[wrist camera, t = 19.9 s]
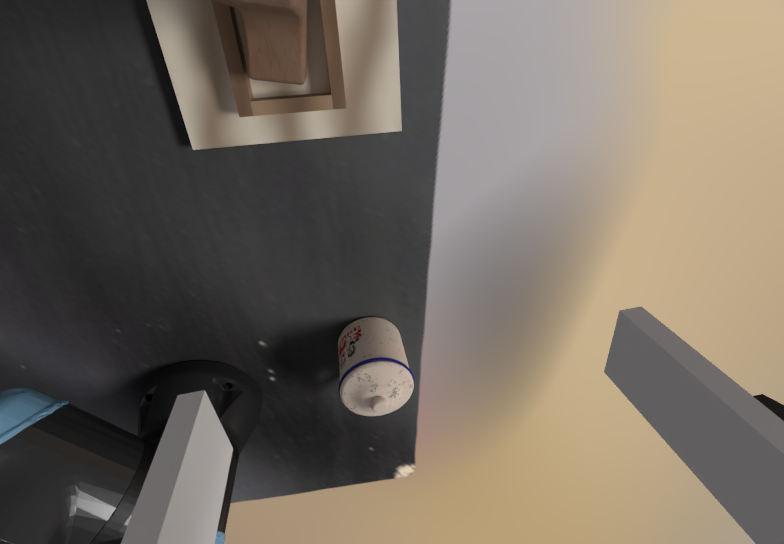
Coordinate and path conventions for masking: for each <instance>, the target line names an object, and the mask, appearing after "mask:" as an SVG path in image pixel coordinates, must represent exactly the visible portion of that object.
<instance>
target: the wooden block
mask: <svg viewBox="0 0 784 544" xmlns="http://www.w3.org/2000/svg"><path fill="white" fill-rule="evenodd" d="M214 1H217V2H220V3H223V4H226V5H229V6H232V7H234V8H236V9H237V11H238V13H239V15H240V20H241V25H242V30H243V35H244V44H245V56H246V68H247V75H248V77H249V78H251V79H253V80H261V81H269V82H278V83H287V84H296V85H302V84H304V82H305V80H306V77H307V0H214Z"/></svg>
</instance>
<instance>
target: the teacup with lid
mask: <svg viewBox="0 0 784 544" xmlns="http://www.w3.org/2000/svg"><path fill="white" fill-rule="evenodd" d="M338 356H339V372H340V383H339V396H340V398H341V400H342V402H343V403H344V405H345V406H346V407H347V408H348V409H350V410H351V411H353V412H355V413H356V414H360V415H364V416H380V415H384V414H388V413H391V412H393V411H395V410H397V409H398V408H400V407H401V406H402V405H404V404H405V403H406V402H407V400H408V399H409V398H410V396H411V394H412V392H413V387H414V377H413V374H412V372H411V370H410V369H409V366H408V362H407V359H406V355H405V351H404V348H403V344H402V340H401V337H400V333H399V331H398V329H397V328H396V327H395V325H393V324H392V323H391V322H389V321H388V320H385V319H382V318H377V317H367V318H362V319H359V320H356V321H354V322H352V323H351V324H349V325H348V326H347V327H346V328H345V329H344V330H343V331H342V333H341V335H340V337H339V340H338Z"/></svg>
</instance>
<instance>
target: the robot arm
mask: <svg viewBox="0 0 784 544" xmlns="http://www.w3.org/2000/svg"><path fill="white" fill-rule="evenodd" d="M604 372H605V373H606V375H607V376H608V377H609V378H610V379H611V380H612V381H613V382H614V384H615V385H616V386H617V387H618V388H619V389H620V390H621V391H622V393H623V394H624V395H625V396H626V397H627V398H628V399H629V401H630V402H631V403H632V404H633V405H634V406H635V407H636V408H637V410H638V411H639V412H640V413H641V414H642V415H643V416H644V418H645V419H646V420H647V421H648V422H649V423H650V424H651V425H652V427H653V428H654V429H655V430H656V431H657V432H658V433H659V435H660V436H661V437H662V438H663V439H664V440H665V441H666V442H667V444H668V445H669V446H670V447H671V448H672V449H673V450H674V451H675V453H677V455H678V456H679V457H680V458H681V459H682V461H683V462H684V463H685V464H686V465H687V466H688V467H689V468H690V470H691V471H692V472H693V473H694V474H695V475H696V476H697V478H698V479H699V480H700V481H701V482H702V483H703V484H704V485H705V487H706V488H707V489H708V490H709V491H710V492H711V493H712V494H713V496H714V497H715V498H716V499H717V500H718V501H719V502H720V504H721V505H722V506H723V507H724V508H725V509H726V510H727V512H728V513H729V514H730V515H731V516H732V517H733V518H734V519H735V521H736V522H737V523H738V524H739V525H740V526H741V527H742V529H743V530H744V531H745V532H746V533H747V534H748V535H749V536H750V538H751V539H752V540H753V541H754V542H755V543H756V544H784V405H782V404H780V403H778V402H777V401H775V400H773V399H771V398H769V397H767V396H765V395H763V394H761V395H756V396H752V395H751V394H749V393H748V392H747V391H746V390H744V389H743V388H742V387H741V386H739V385H738V384H737V383H736V382H734V381H733V380H732V379H731V378H730V377H728V376H727V375H726V374H725V373H723V372H722V371H721V370H720V369H718V368H717V367H716V366H715V365H713V364H712V363H711V362H709V361H708V360H707V359H706V358H705V357H703V356H702V355H701V354H700V353H698V352H697V351H696V350H695V349H693V348H692V347H691V346H690V345H688V344H687V343H686V342H685V341H683V340H682V339H681V338H680V337H679V336H677V335H676V334H675V333H674V332H672V331H671V330H670V329H668V328H667V327H666V326H665V325H664V324H662V323H661V322H660V321H659V320H657V319H656V318H655V317H654V316H652V315H651V314H650V313H649V312H647V311H646V310H645V309H644V308H642V307H636V308H631V309H626V310H621V311H620V312H619V315H618V319H617V323H616V327H615V331H614V335H613V339H612V343H611V347H610V351H609V355H608V359H607V363H606V367H605V371H604ZM261 406H262V396H261V392H260V390H259V388H258V386H257V384H256V383H255V382H254V381H253V380H252V379H251V378H250V377H249V376H248V375H247V374H245V373H244V372H242V371H241V370H239V369H237V368H235V367H232V366H230V365H227V364H223V363H219V362H213V361H187V362H182V363H178V364H175V365H172V366H169V367H167V368H165V369H163V370H162V371H160V372H159V373H157V374H156V375H155V376H154V377H153V378H152V379H151V380H150V382H149V383H148V385H147V387H146V389H145V391H144V393H143V395H142V397H141V400H140V404H139V417H138V436H136V435H134V434H132V433H129V432H127V431H125V430H123V429H121V428H119V427H117V426H115V425H113V424H111V423H109V422H106V421H104V420H102V419H100V418H98V417H96V416H94V415H92V414H90V413H88V412H85V411H83V410H81V409H79V408H77V407H75V406H73V405H71V404H69V401H67V400H58V399H55V398H53V397H51V396H48V395H46V394H43V393H41V392H38V391H36V390H33V389H31V388H26V387H16V388H11V389H7V390H4V391H2V392H0V544H224V541H225V529H226V524H227V518H228V513H229V507H230V502H231V496H232V491H233V486H234V480H235V475H236V469H237V463H238V459H239V454H240V453H241V451H242V449H243V448H244V446H245V444H246V442H247V441H248V439H249V437H250V436H251V434H252V432H253V430H254V429H255V427H256V425H257V423H258V420H259V417H260V412H261Z"/></svg>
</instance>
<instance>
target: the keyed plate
mask: <svg viewBox="0 0 784 544" xmlns="http://www.w3.org/2000/svg"><path fill="white" fill-rule="evenodd" d="M146 1H147V4H148V7H149V11H150V14H151V17H152V20H153V23H154V27H155V30H156V33H157V36H158V39H159V43H160V46H161V49H162V52H163V56H164V59H165V62H166V65H167V68H168V72H169V75H170V78H171V81H172V84H173V88H174V91H175V94H176V97H177V100H178V104H179V107H180V110H181V113H182V117H183V120H184V123H185V126H186V129H187V133H188V136H189V139H190V142H191V145H192V149H193V150H197V149H208V148H219V147H230V146H241V145H252V144H263V143H274V142H285V141H296V140H307V139H318V138H329V137H340V136H351V135H362V134H373V133H384V132H395V131H402V125H401V100H400V75H399V49H398V24H397V0H307V77H306V80H305V82H304V84H302V85H296V84H287V83H278V82H269V81H261V80H253V79H251V78H249V77H248V75H247V68H246V56H245V44H244V35H243V30H242V25H241V20H240V15H239V13H238V11H237V9H236V8H234V7H232V6H229V5H226V4H223V3H220V2H217V1H214V0H146Z"/></svg>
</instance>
